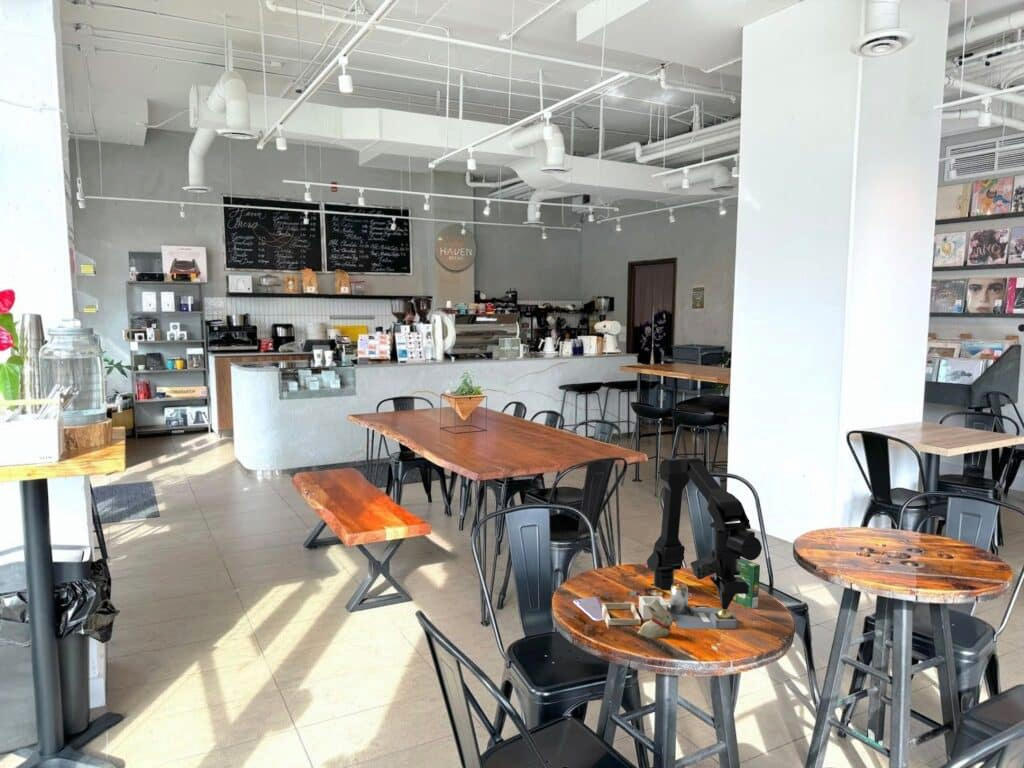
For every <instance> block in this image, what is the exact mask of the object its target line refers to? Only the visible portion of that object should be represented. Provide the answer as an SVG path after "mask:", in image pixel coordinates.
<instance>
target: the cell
mask: <svg viewBox="0 0 1024 768" xmlns="http://www.w3.org/2000/svg"><path fill="white" fill-rule="evenodd" d="M688 598H689V588H688V585H687V584H684V583H676V582H674V584H672V586H671V590H670V607H671V612H672V613H673V614H676V615H685V614H687V612H688V602H689V599H688Z"/></svg>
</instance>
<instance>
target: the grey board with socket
mask: <svg viewBox="0 0 1024 768" xmlns="http://www.w3.org/2000/svg"><path fill="white" fill-rule="evenodd" d="M666 605H667V611H668V612H669V613H671V615H672V617H673V621H675V624H676V625H677V626H678V628H679V629H680V630H706V629H707V630H715V629H717V630H732V629H733V630H736V629H739V622H740V621H739V619H738V618H737V617H736V616H735V614H734V613H733V612H732V611H731V619H718V609H721V608H720V607H715V606H713V607H709V606H708V607H704V606H703V607H701V606H700V607H699V606H698V607H697V606H695V607H691V606H690V604H688V612H687V614H685V615H676V614H673V613H672V612H671V606H670V607H669V606H668V604H667V603H666Z"/></svg>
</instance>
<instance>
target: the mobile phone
mask: <svg viewBox="0 0 1024 768" xmlns="http://www.w3.org/2000/svg"><path fill="white" fill-rule="evenodd" d="M572 602H573V604H574V605H575V606H576V607H578V608H579V609H580V610H582V612H584V613H585V614H586V615H587V616H588V617H589V618H591V619H592V620H593V621H595V622H600V621H605V618H604V615H603V612H602V603H601V600H600V599H599V598H598V597H595V596H592V597H585V598H578V599H577V598H576V599H573V601H572Z"/></svg>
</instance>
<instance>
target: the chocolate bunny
mask: <svg viewBox="0 0 1024 768" xmlns="http://www.w3.org/2000/svg"><path fill="white" fill-rule="evenodd" d="M647 608H648V609H649V610H650V612H651V614H652V618H651V619H649V620H648V621H646V622H644V623H643V624H642V625H640V626H641V627H639V630H638V632H637V634H638V635H640V636H642V637H647V638H652V639H654V638H656V639H657V638H667V637H668V636H669V634H670V632H671V631H672V629H671V628H670V627H671V626H672V624H673V622H674V618H673V617H672V615H671V613H669V612H668V611H666V610H665V609H664V608H663V607H662V605H661V604H660V603H659V602H658V600H656V599H654V600H653V602H652V603H650V604H648V605H647Z"/></svg>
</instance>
